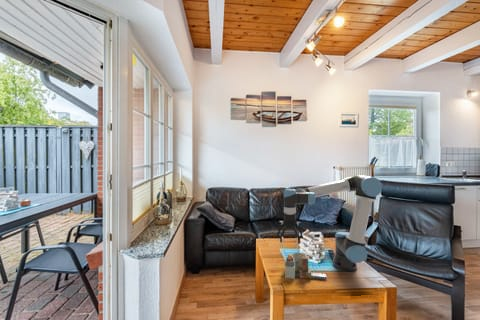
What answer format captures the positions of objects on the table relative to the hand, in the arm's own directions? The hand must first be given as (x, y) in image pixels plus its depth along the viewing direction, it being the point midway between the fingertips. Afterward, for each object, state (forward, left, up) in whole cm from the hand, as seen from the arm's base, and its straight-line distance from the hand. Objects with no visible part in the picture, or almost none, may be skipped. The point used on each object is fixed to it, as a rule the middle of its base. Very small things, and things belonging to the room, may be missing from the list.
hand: (289, 247), depth 146 cm
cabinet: (0, 0, -17) cm, 17 cm away
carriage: (-9, 0, -17) cm, 20 cm away
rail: (-13, 0, -17) cm, 21 cm away
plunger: (0, 0, -8) cm, 8 cm away
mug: (-4, -8, -18) cm, 20 cm away
